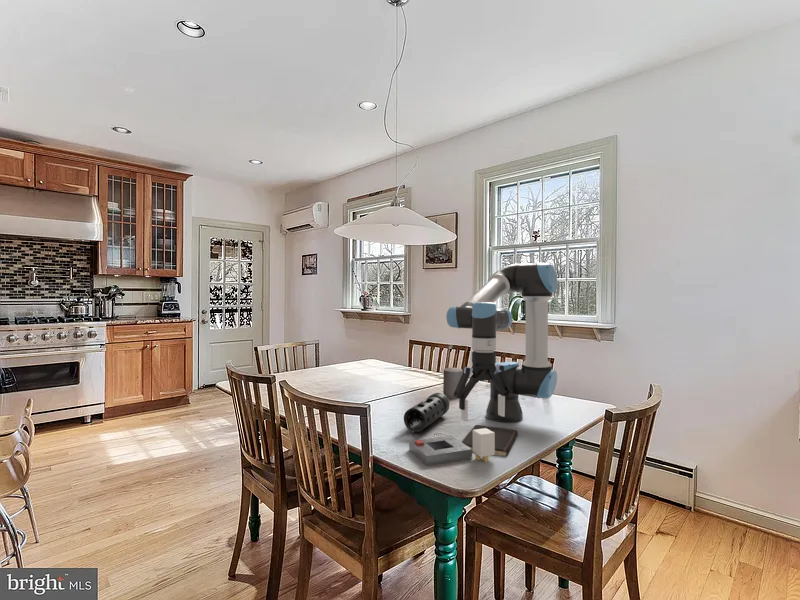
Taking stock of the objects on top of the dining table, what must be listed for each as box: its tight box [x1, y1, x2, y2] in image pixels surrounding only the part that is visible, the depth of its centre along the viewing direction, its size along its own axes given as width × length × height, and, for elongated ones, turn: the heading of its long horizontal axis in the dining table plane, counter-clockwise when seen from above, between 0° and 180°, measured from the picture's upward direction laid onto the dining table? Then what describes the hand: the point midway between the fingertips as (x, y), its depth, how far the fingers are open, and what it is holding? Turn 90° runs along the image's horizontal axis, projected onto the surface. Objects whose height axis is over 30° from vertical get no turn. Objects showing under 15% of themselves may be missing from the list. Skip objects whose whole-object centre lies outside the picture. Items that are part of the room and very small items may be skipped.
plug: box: [472, 428, 496, 463], centre depth 138 cm, size 5×5×9 cm
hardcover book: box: [461, 424, 519, 457], centre depth 154 cm, size 16×23×2 cm
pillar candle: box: [442, 366, 463, 399], centre depth 219 cm, size 10×10×15 cm
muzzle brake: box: [403, 392, 450, 435], centre depth 174 cm, size 10×28×10 cm, turn 154°
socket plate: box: [408, 435, 473, 467], centre depth 142 cm, size 16×14×4 cm
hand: (483, 417), depth 137 cm, fingers open, 13 cm apart
